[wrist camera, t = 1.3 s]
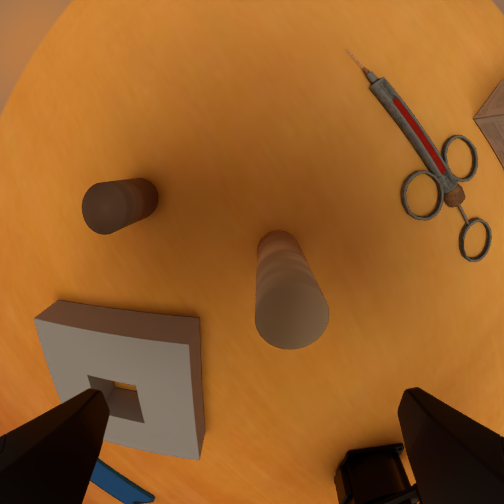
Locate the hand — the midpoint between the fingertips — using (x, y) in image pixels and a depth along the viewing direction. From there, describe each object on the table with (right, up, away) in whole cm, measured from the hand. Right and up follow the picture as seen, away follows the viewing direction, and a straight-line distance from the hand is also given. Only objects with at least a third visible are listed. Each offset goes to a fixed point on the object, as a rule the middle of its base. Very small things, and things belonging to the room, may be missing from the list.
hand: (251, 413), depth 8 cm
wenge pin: (-7, +8, +11) cm, 15 cm away
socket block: (-10, -6, +14) cm, 18 cm away
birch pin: (+2, +4, +11) cm, 12 cm away
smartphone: (-20, -24, +20) cm, 37 cm away
